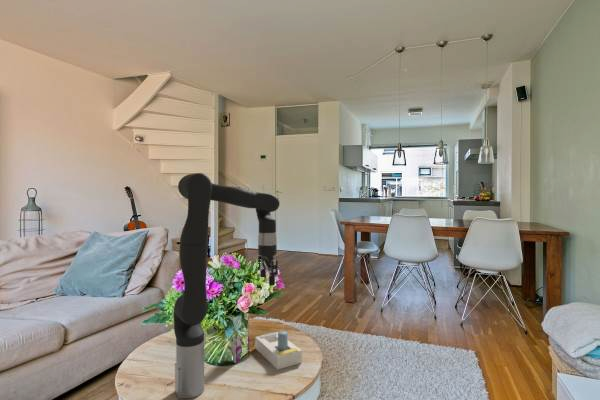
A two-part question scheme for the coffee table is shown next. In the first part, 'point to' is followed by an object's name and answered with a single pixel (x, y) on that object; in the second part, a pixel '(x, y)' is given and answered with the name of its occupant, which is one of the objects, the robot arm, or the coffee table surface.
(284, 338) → the blue-grey upright block
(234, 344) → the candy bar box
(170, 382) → the coffee table surface
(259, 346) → the socket board
